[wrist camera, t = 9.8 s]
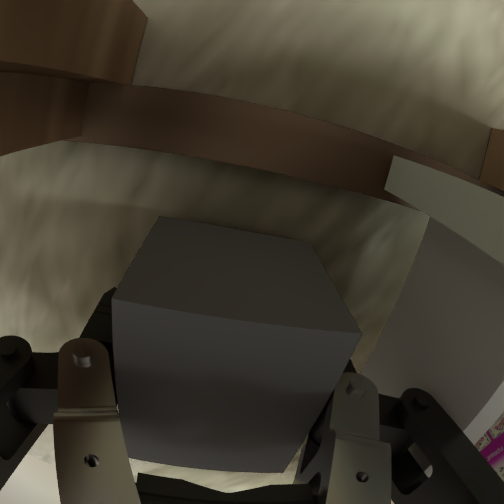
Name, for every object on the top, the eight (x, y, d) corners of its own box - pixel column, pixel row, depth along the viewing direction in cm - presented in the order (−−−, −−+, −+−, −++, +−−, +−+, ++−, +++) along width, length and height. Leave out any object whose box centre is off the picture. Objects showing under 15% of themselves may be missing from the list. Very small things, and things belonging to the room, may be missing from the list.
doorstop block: (309, 242, 11) (361, 333, 6) (267, 372, 13) (283, 472, 9) (159, 216, 10) (111, 298, 6) (148, 355, 12) (125, 456, 8)
